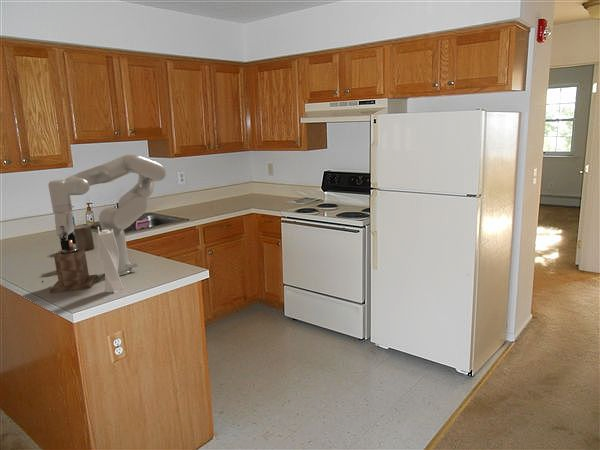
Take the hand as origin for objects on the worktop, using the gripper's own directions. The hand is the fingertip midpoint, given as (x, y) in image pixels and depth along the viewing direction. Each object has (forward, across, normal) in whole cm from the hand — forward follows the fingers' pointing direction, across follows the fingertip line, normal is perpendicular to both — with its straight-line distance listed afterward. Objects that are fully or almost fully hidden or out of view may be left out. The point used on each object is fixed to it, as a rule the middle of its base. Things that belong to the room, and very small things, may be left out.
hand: (69, 246), depth 202 cm
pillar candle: (+18, -67, -11) cm, 70 cm away
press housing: (+18, 0, 0) cm, 18 cm away
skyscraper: (+18, +14, +19) cm, 30 cm away
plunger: (+15, 0, 0) cm, 15 cm away
